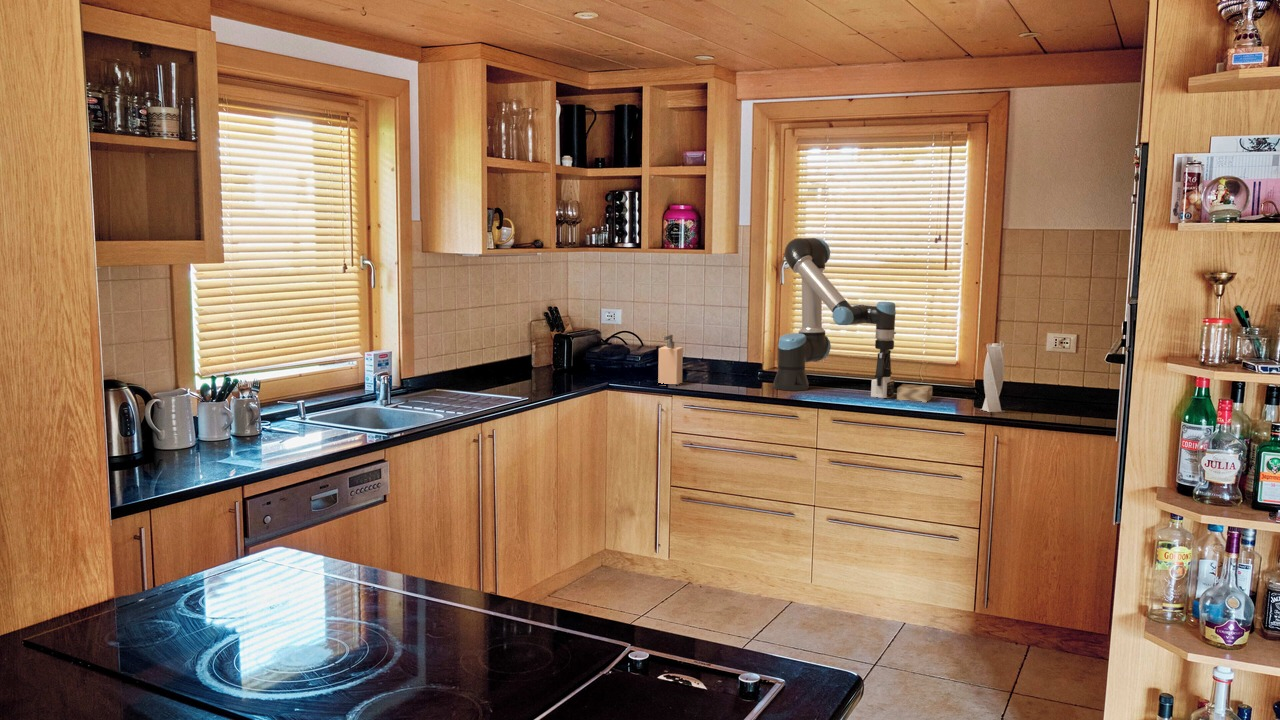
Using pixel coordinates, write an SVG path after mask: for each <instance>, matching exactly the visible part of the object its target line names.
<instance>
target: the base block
mask: <svg viewBox="0 0 1280 720" xmlns="http://www.w3.org/2000/svg"><path fill="white" fill-rule="evenodd" d="M933 388H934V387H933V386H932V385H924V384H923V385H921V384H920V385H919V384H909V383H908V384H907V383H902V384H901V385H899V386H898V387H897V388H896V401H902V400H910V401H909V402H914V401H922V402H921V403H926V402H927V401H928V402H930V401H931V398H932V399H933ZM928 402H927V403H928Z"/></svg>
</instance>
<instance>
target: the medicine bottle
mask: <svg viewBox="0 0 1280 720" xmlns="http://www.w3.org/2000/svg"><path fill="white" fill-rule="evenodd" d="M891 372H892V369H891V370H890V369H888V368H884V373H883V394H876V378H874V379H871V387H870V397H871V398H876V397H878V398H877V399H884V398H887V399H890V398H893V397H894V395H895V394H894V393H895V379H891V378H892V377H891V375H892V374H891Z"/></svg>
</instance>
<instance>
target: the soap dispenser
mask: <svg viewBox="0 0 1280 720" xmlns="http://www.w3.org/2000/svg"><path fill="white" fill-rule="evenodd" d="M673 338H674V337H673V334H668V335H664V337H663V340H664V341H667V345H664V346H660V347H658V367H657V368H658V371H657V372H658V374H657V375H658V377H657V378H658V379H657V380H658V381H657V382H658V383H661V384H663V383H664V384H679V383H682V384H683V358H684V357H683V356H684V354H683V353H684V350H683V349H684V347H682V346H675V341H674V340H673ZM658 383H657V384H658Z"/></svg>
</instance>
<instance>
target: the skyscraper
mask: <svg viewBox="0 0 1280 720" xmlns="http://www.w3.org/2000/svg"><path fill="white" fill-rule="evenodd" d="M1004 348H1005V342H1004V340H1000V341H999V343H997V342H995V343H993V342H992V343H986V350H987V353H986V356H985V360H984V365H983V366H984V367H983V387H984V388H983V389H984V394H985V398H984V401H983V405H982V408H979V411H981V410H983V411H982V412H984V411H987V412H1006V411H1005V410H1002V406H1001V402H1000V396H1001V395H1000V394H1001V392H1002V388H1003V383H1004V378H1005V360H1004V353H1003V351H1004ZM987 412H986V413H987Z"/></svg>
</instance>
